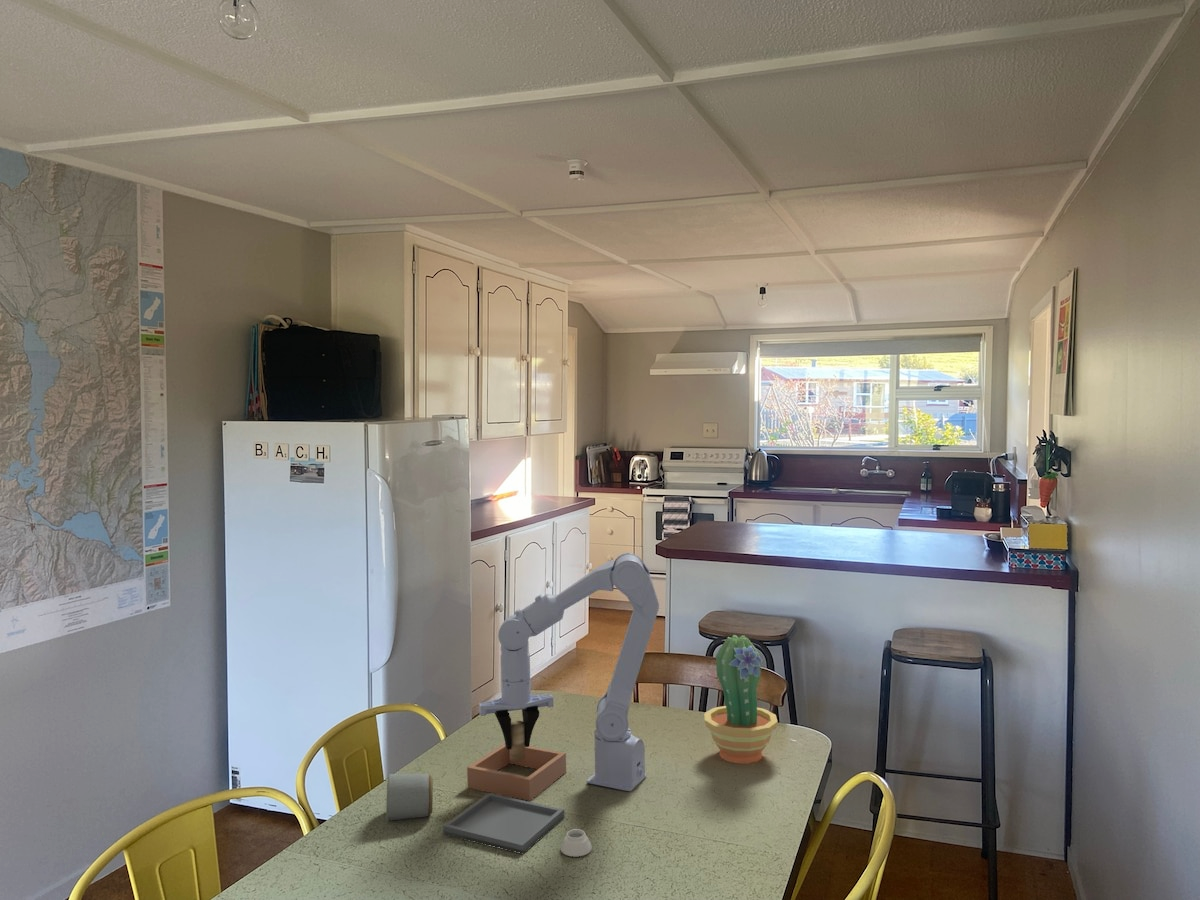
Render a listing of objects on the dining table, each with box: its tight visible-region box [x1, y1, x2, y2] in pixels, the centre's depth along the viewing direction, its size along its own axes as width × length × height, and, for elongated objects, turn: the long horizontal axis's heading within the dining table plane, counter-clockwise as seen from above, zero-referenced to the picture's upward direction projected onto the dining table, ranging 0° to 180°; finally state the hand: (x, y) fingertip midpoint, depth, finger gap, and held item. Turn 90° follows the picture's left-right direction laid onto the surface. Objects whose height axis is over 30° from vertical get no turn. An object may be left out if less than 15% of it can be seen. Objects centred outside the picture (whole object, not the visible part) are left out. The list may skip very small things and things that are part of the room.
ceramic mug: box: [385, 773, 434, 821], centre depth 154 cm, size 11×8×8 cm
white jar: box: [560, 828, 592, 858], centre depth 139 cm, size 5×3×5 cm
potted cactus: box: [703, 634, 778, 764], centre depth 177 cm, size 15×15×25 cm
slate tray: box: [442, 792, 565, 854], centre depth 148 cm, size 16×14×2 cm
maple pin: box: [510, 720, 525, 762], centre depth 166 cm, size 3×3×7 cm
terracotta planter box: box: [466, 743, 567, 802], centre depth 167 cm, size 14×14×4 cm
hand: (517, 746), depth 166 cm, fingers closed on maple pin, 3 cm apart
